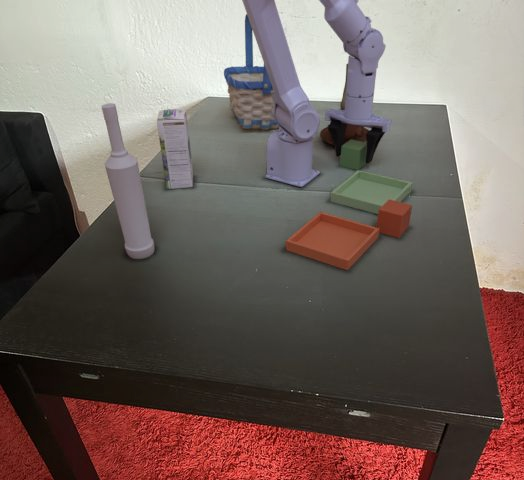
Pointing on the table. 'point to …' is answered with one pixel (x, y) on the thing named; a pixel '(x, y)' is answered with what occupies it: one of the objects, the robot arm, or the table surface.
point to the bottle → (127, 190)
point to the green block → (353, 154)
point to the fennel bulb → (344, 92)
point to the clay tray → (333, 240)
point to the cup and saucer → (346, 134)
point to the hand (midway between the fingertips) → (354, 158)
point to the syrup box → (175, 148)
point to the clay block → (394, 218)
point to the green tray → (370, 191)
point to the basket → (251, 90)
